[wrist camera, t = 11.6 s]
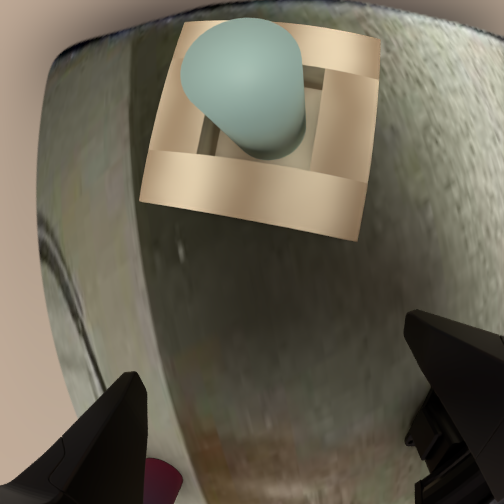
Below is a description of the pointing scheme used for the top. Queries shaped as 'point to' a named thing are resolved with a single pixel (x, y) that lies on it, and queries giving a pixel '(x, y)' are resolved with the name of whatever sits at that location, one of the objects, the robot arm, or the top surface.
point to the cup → (160, 482)
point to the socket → (284, 169)
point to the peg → (249, 85)
